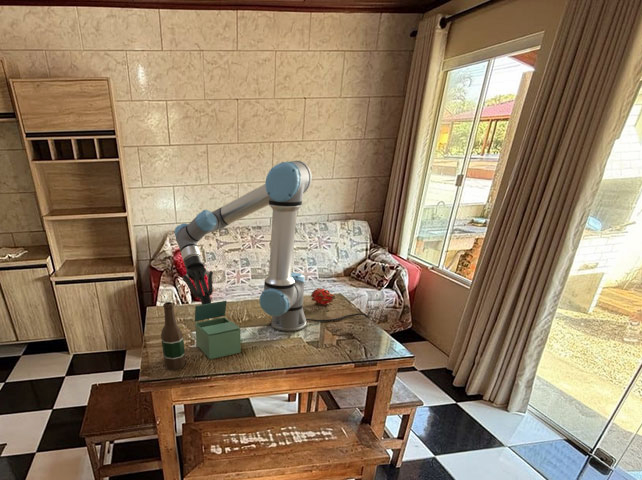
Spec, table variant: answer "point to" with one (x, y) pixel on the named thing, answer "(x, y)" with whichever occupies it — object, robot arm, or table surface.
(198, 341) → the container
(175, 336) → the beer bottle
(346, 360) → the table surface
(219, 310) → the flap
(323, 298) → the dragon fruit
